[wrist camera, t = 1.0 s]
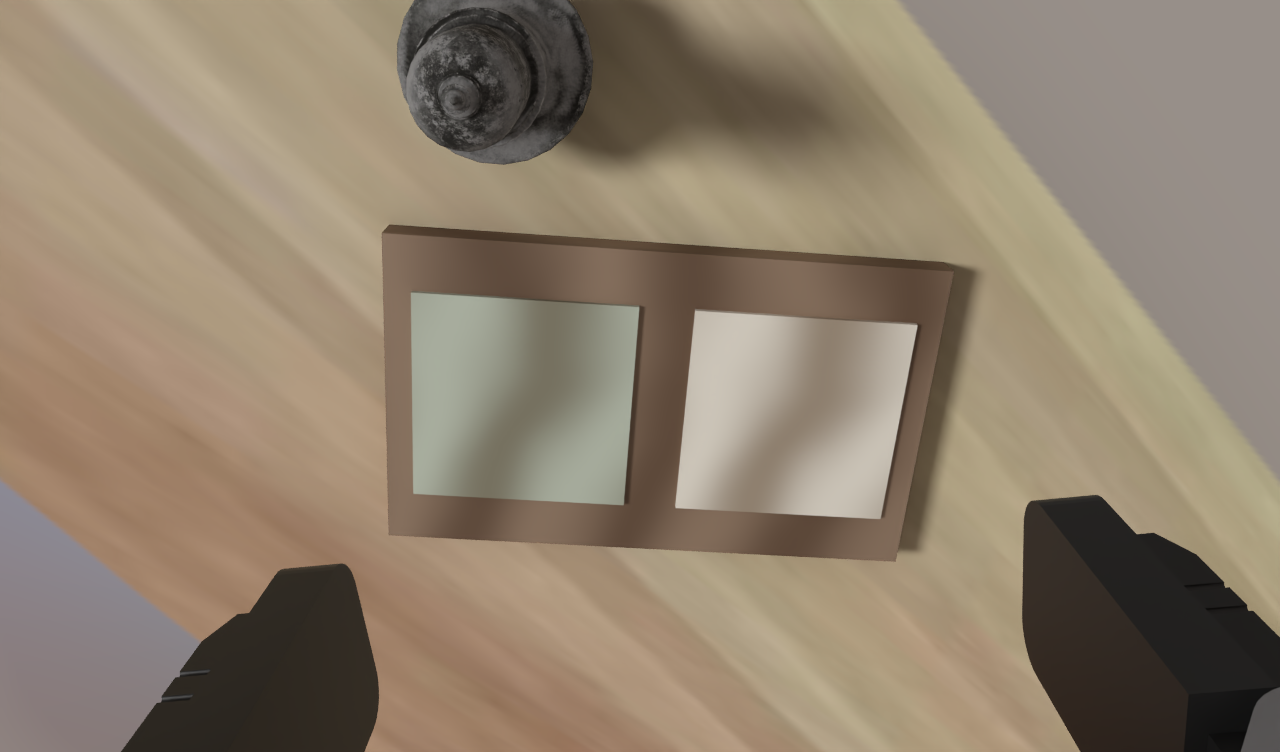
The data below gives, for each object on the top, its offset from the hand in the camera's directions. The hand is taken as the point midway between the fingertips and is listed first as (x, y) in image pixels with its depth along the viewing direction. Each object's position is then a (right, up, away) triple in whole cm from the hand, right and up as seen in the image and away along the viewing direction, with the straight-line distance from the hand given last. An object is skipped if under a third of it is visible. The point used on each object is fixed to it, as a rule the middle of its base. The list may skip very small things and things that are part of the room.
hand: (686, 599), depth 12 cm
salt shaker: (-5, +13, +22) cm, 26 cm away
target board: (0, +2, +26) cm, 26 cm away
